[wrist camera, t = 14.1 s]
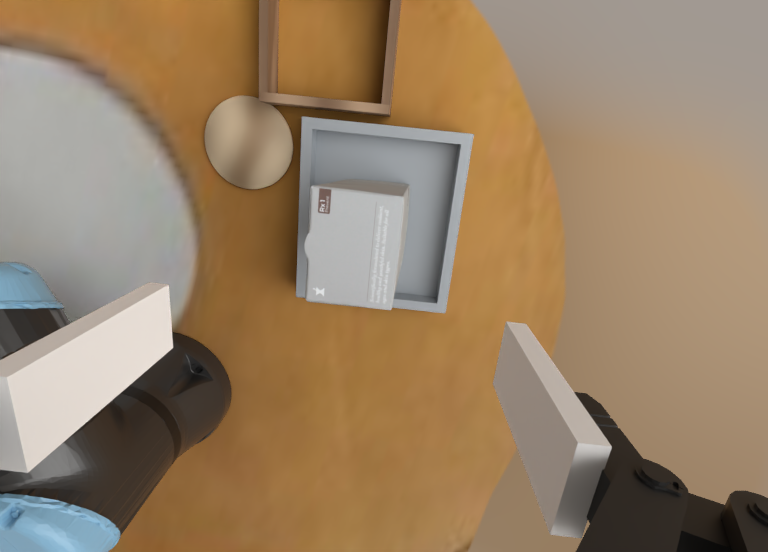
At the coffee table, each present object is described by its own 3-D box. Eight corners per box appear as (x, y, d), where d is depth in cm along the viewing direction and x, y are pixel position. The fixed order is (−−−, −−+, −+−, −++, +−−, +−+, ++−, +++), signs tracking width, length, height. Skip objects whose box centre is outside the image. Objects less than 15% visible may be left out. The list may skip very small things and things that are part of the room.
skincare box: (403, 259, 43) (402, 319, 28) (337, 252, 43) (300, 308, 28) (412, 179, 40) (417, 197, 25) (342, 172, 40) (305, 185, 25)
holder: (269, 104, 40) (258, 101, 37) (270, -41, 36) (259, -57, 33) (390, 116, 39) (389, 114, 37) (404, -28, 36) (404, -43, 33)
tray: (302, 287, 45) (295, 296, 43) (309, 118, 40) (301, 116, 37) (442, 303, 45) (445, 313, 42) (468, 135, 40) (473, 134, 37)
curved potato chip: (208, 183, 42) (206, 184, 42) (205, 91, 40) (202, 91, 39) (292, 192, 42) (291, 193, 42) (294, 101, 39) (293, 100, 39)
